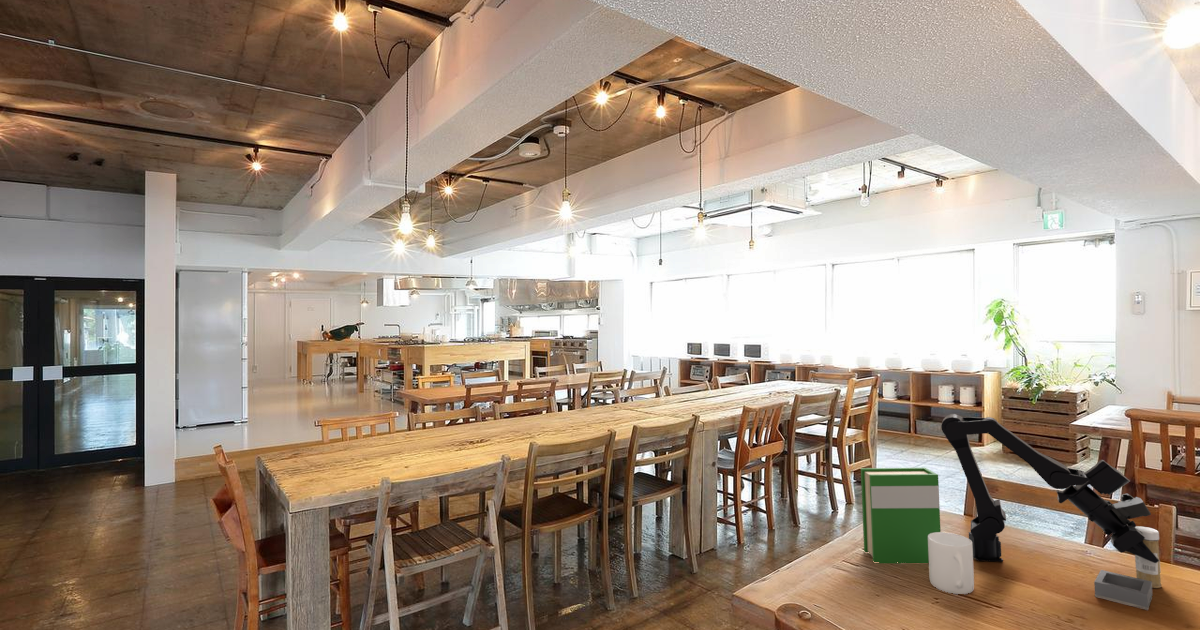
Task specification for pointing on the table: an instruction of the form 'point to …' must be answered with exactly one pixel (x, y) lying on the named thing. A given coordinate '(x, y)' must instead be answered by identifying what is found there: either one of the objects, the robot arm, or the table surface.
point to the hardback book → (899, 513)
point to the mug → (951, 562)
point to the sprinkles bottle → (1146, 567)
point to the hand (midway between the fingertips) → (1154, 558)
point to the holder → (1123, 589)
